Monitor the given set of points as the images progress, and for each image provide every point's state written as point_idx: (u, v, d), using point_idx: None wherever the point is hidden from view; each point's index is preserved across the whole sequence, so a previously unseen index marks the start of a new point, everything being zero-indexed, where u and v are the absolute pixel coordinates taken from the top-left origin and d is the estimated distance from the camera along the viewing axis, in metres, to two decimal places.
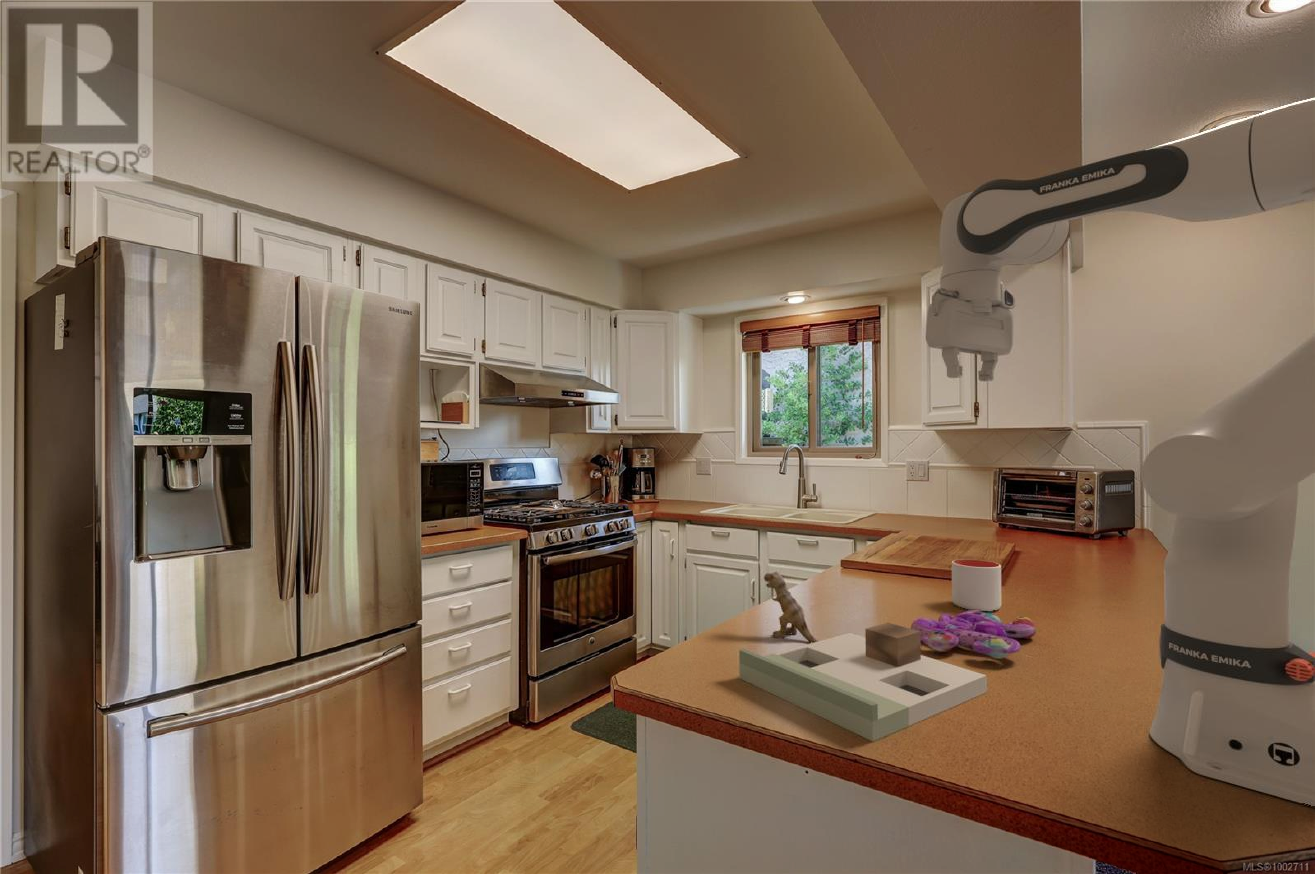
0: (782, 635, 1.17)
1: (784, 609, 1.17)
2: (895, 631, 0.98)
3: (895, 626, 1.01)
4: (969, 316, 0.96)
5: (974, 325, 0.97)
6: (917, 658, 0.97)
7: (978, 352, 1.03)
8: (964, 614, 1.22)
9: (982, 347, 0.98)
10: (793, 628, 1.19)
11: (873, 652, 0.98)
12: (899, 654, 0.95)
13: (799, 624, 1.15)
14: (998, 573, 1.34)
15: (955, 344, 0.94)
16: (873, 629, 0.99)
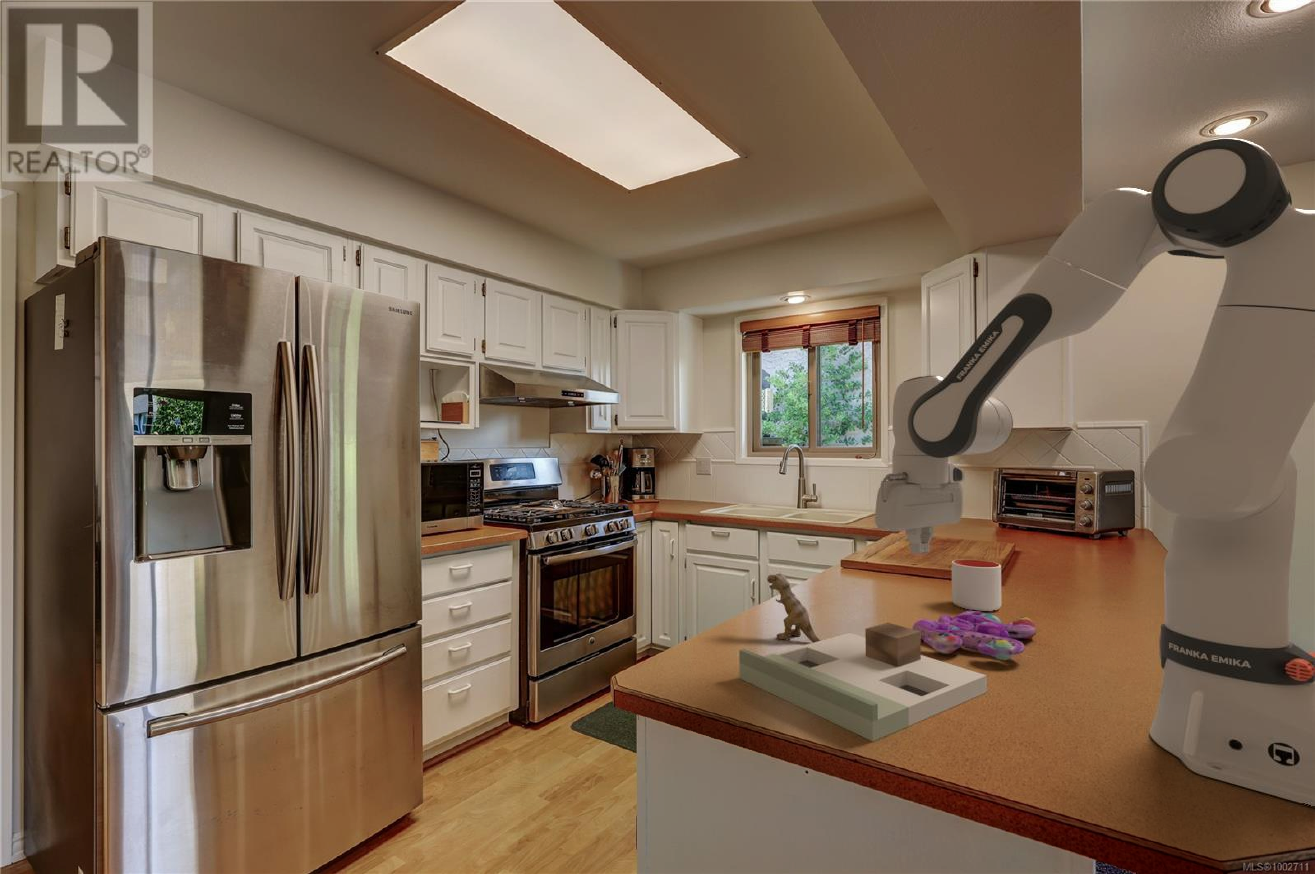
0: (787, 637, 1.15)
1: (789, 611, 1.15)
2: (895, 631, 0.98)
3: (895, 626, 1.01)
4: (917, 497, 1.01)
5: (922, 505, 1.01)
6: (917, 658, 0.97)
7: None
8: (964, 615, 1.22)
9: (930, 524, 1.02)
10: (797, 630, 1.17)
11: (873, 652, 0.98)
12: (899, 654, 0.95)
13: (804, 626, 1.14)
14: (998, 573, 1.34)
15: (902, 529, 0.98)
16: (873, 629, 0.99)
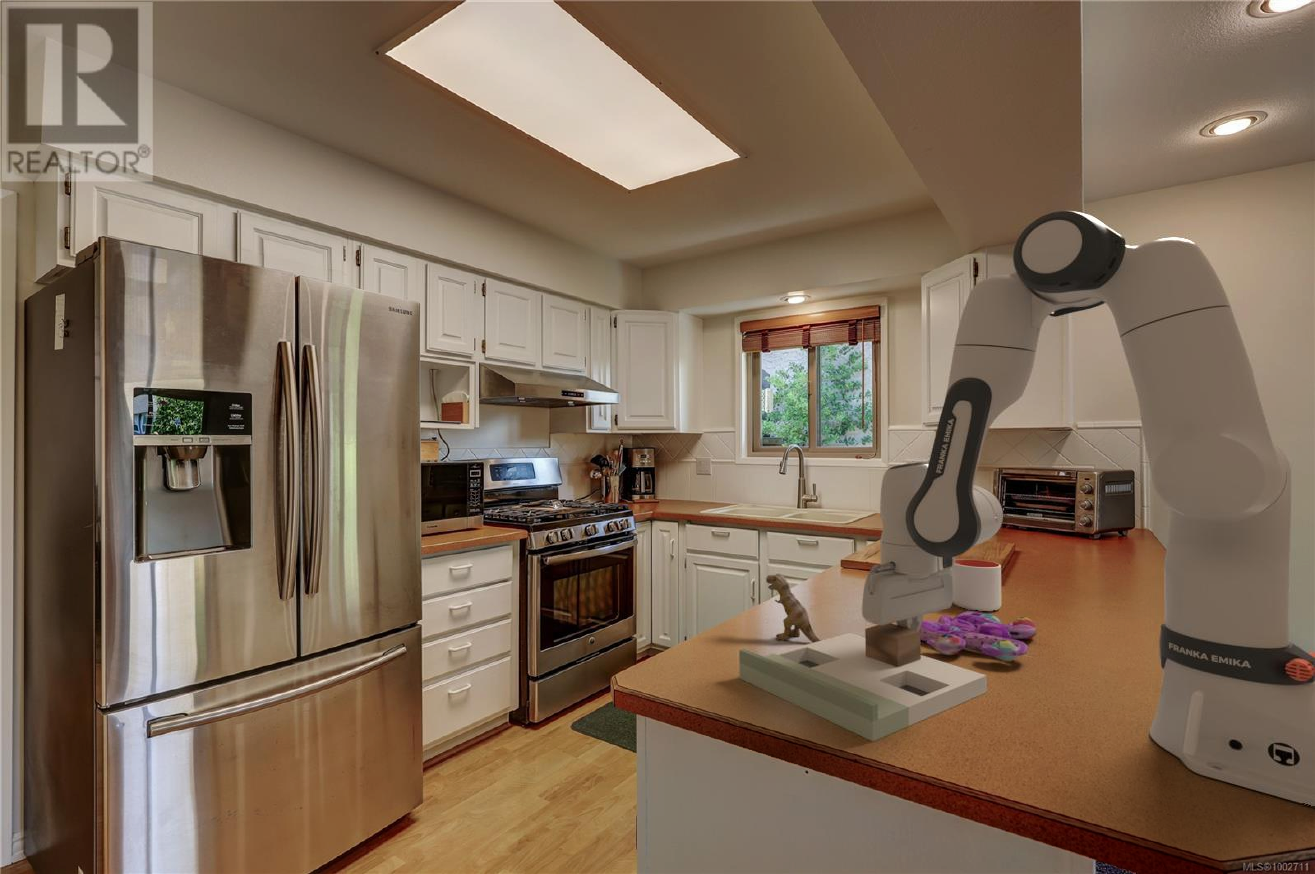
0: (786, 637, 1.15)
1: (788, 611, 1.15)
2: (894, 631, 0.98)
3: (895, 626, 1.01)
4: (906, 587, 0.98)
5: (911, 596, 0.99)
6: (917, 658, 0.97)
7: None
8: (964, 615, 1.21)
9: (920, 614, 1.00)
10: (796, 630, 1.17)
11: (873, 652, 0.98)
12: (899, 654, 0.95)
13: (804, 626, 1.14)
14: (998, 573, 1.34)
15: (890, 622, 0.96)
16: (873, 629, 0.99)
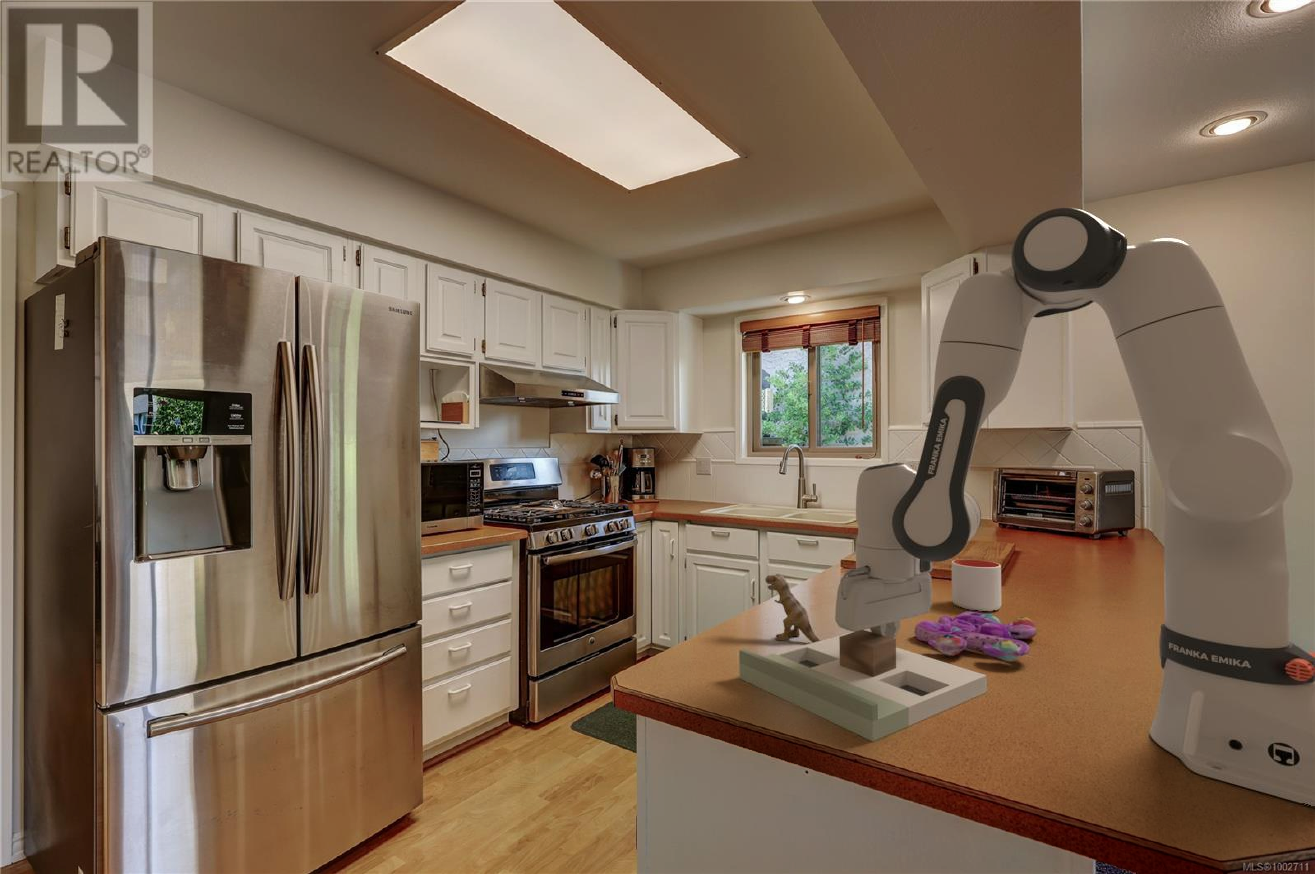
0: (786, 638, 1.15)
1: (788, 611, 1.15)
2: (869, 638, 0.94)
3: (870, 633, 0.97)
4: (881, 592, 0.95)
5: (886, 601, 0.95)
6: (893, 666, 0.94)
7: None
8: (964, 616, 1.21)
9: (896, 619, 0.97)
10: (796, 630, 1.17)
11: (847, 661, 0.94)
12: (874, 664, 0.91)
13: (804, 626, 1.14)
14: (998, 573, 1.34)
15: None
16: (847, 637, 0.95)
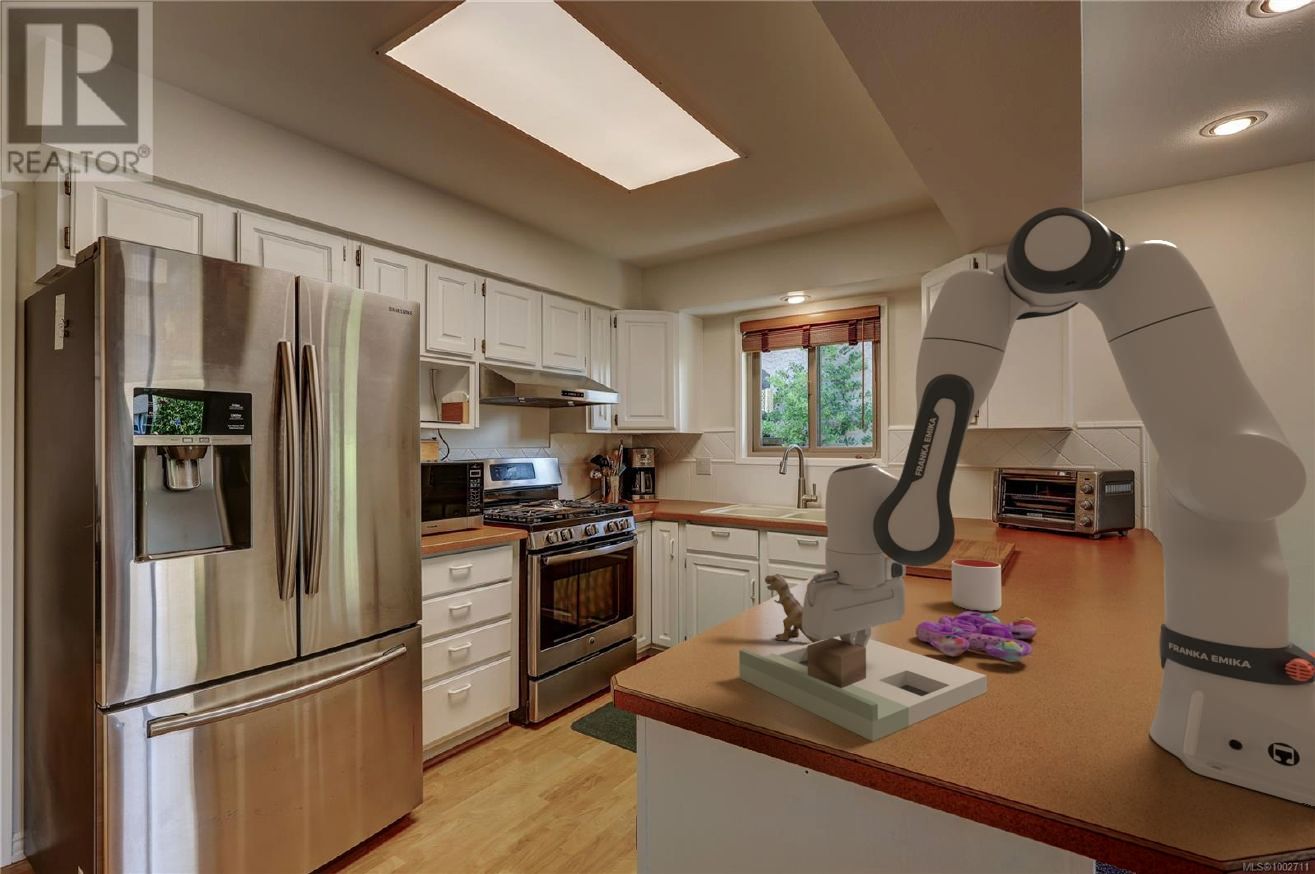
0: (786, 638, 1.15)
1: (788, 611, 1.15)
2: (838, 647, 0.90)
3: (839, 642, 0.93)
4: (850, 599, 0.91)
5: (856, 608, 0.91)
6: (862, 677, 0.90)
7: None
8: (964, 616, 1.21)
9: (866, 627, 0.93)
10: (795, 630, 1.17)
11: (815, 671, 0.90)
12: (843, 674, 0.87)
13: None
14: (998, 573, 1.35)
15: (831, 637, 0.88)
16: (816, 646, 0.91)
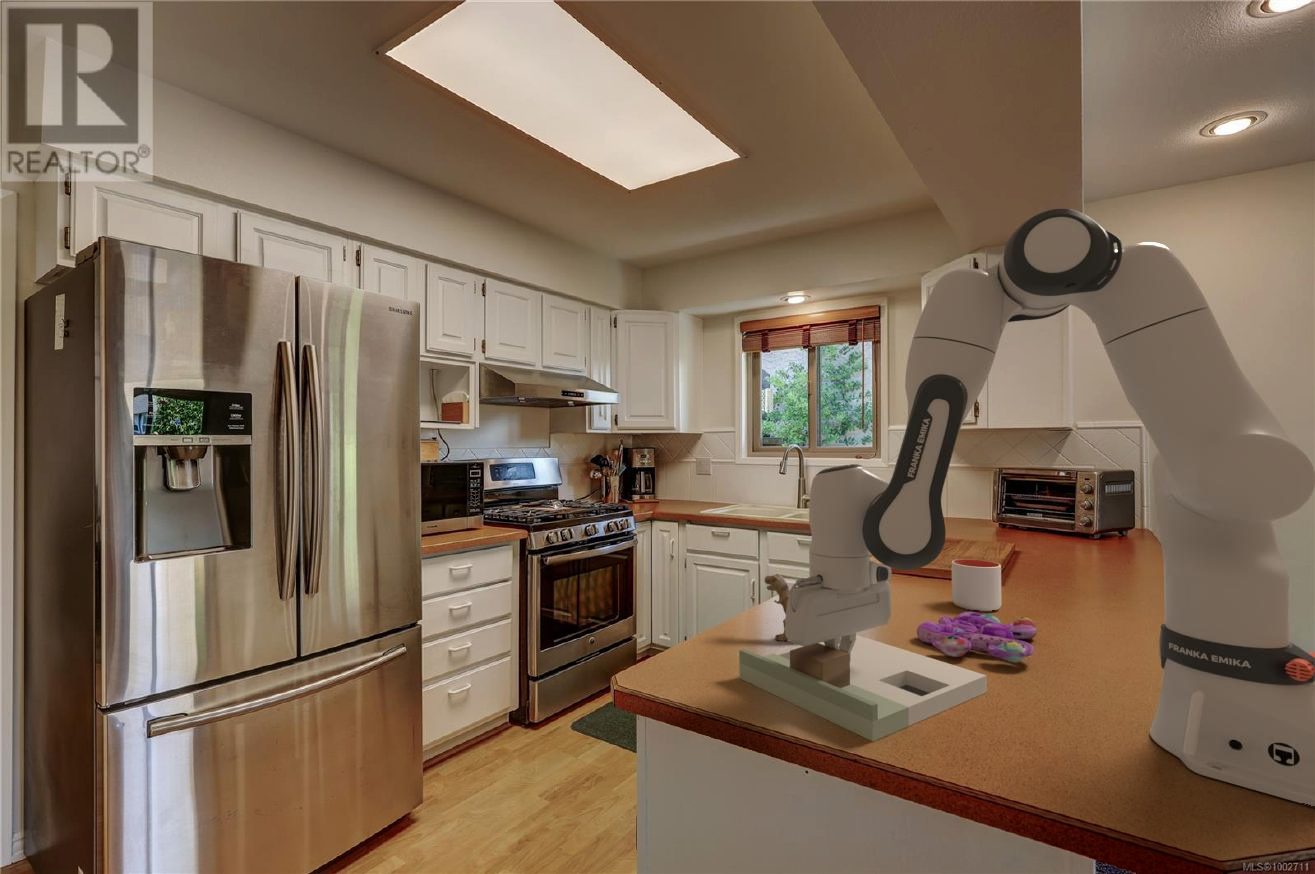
0: (786, 638, 1.15)
1: None
2: (821, 653, 0.88)
3: (823, 647, 0.90)
4: (834, 603, 0.89)
5: (840, 612, 0.89)
6: (846, 683, 0.87)
7: None
8: (964, 616, 1.21)
9: (851, 632, 0.90)
10: None
11: None
12: (824, 680, 0.84)
13: None
14: (998, 573, 1.35)
15: (814, 643, 0.86)
16: (798, 651, 0.89)
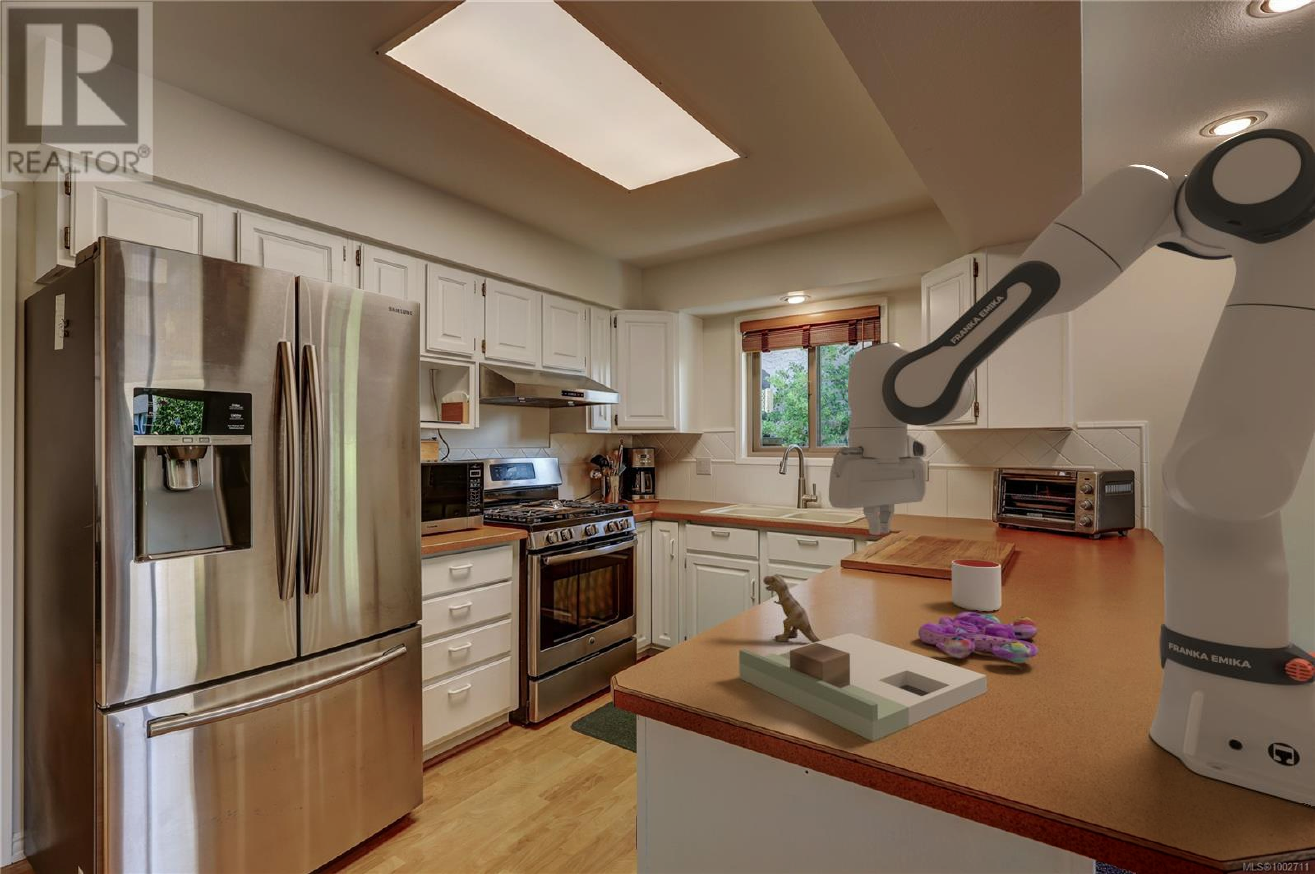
0: (786, 639, 1.15)
1: (788, 612, 1.15)
2: (821, 653, 0.88)
3: (823, 647, 0.90)
4: (874, 473, 0.93)
5: (880, 482, 0.94)
6: (846, 683, 0.87)
7: None
8: (964, 616, 1.20)
9: (890, 502, 0.95)
10: (794, 631, 1.17)
11: None
12: (824, 680, 0.84)
13: (804, 626, 1.14)
14: (998, 573, 1.35)
15: (858, 506, 0.91)
16: (798, 651, 0.89)
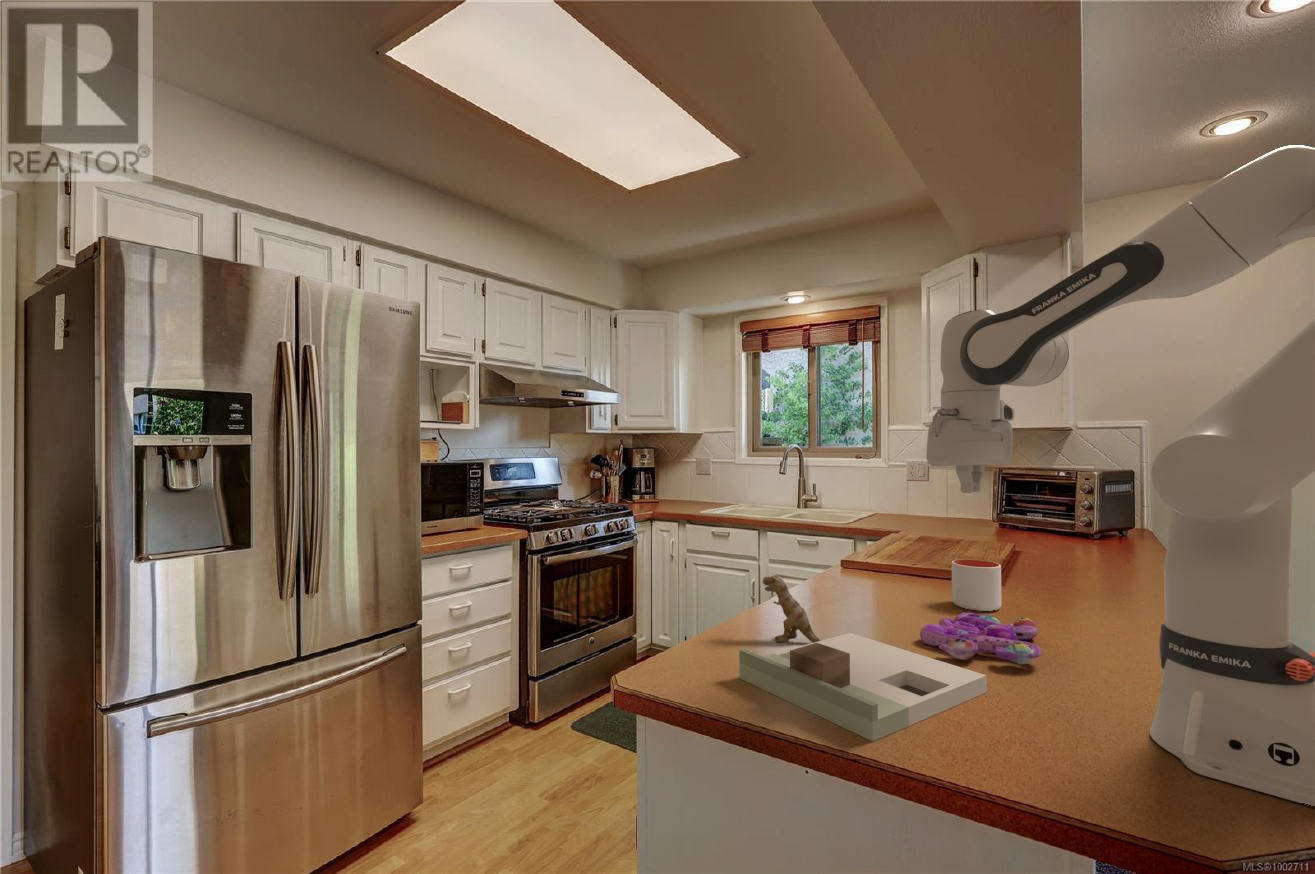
0: (786, 639, 1.14)
1: (788, 612, 1.14)
2: (821, 653, 0.88)
3: (823, 647, 0.90)
4: (969, 433, 0.98)
5: (974, 442, 0.99)
6: (846, 683, 0.87)
7: None
8: (964, 617, 1.20)
9: (982, 462, 1.00)
10: (794, 631, 1.17)
11: None
12: (824, 680, 0.84)
13: (804, 627, 1.13)
14: (998, 573, 1.34)
15: (955, 464, 0.96)
16: (798, 651, 0.89)
